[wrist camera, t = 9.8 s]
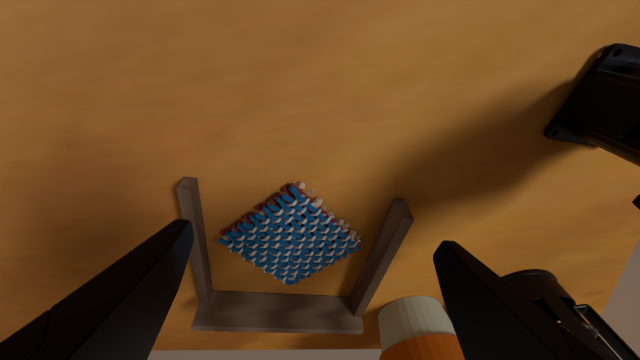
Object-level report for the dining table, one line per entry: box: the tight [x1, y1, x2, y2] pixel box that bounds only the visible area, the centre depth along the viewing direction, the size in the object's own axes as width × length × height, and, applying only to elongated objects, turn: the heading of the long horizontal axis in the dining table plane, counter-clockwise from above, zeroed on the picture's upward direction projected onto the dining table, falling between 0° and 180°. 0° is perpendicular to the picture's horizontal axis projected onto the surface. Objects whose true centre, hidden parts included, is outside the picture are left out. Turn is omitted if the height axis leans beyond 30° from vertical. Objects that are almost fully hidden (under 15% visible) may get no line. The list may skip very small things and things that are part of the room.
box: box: [176, 177, 414, 334], centre depth 24 cm, size 19×18×4 cm
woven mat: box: [218, 182, 362, 285], centre depth 24 cm, size 10×11×2 cm
